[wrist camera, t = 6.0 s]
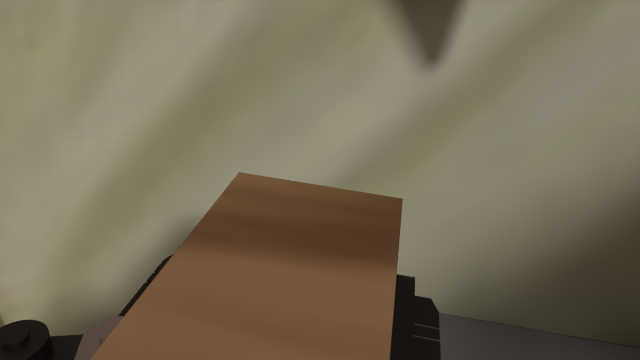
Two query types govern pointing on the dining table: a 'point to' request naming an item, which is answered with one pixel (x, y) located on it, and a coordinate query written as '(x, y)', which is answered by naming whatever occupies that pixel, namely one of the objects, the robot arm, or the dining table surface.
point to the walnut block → (272, 280)
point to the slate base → (519, 343)
